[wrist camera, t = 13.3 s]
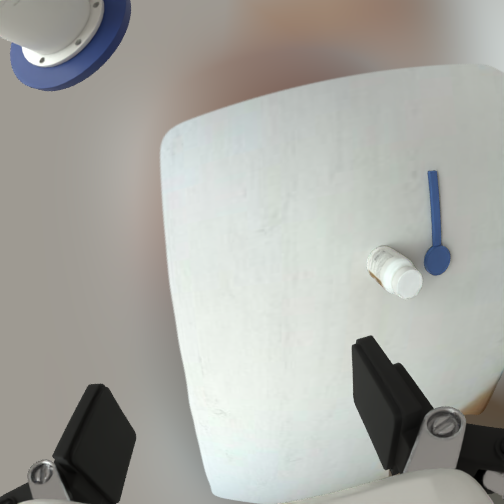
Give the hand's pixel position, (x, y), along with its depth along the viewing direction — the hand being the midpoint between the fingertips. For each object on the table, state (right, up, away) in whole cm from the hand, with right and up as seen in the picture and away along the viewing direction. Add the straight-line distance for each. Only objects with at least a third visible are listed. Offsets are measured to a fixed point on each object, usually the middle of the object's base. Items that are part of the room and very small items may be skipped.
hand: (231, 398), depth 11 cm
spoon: (+25, +9, +26) cm, 37 cm away
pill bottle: (+17, +4, +27) cm, 33 cm away
